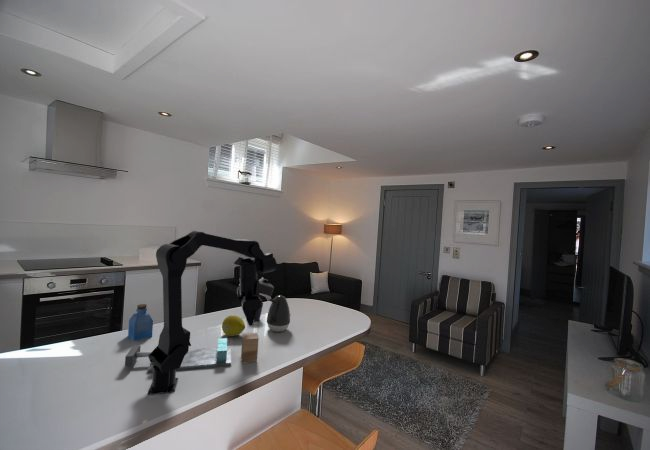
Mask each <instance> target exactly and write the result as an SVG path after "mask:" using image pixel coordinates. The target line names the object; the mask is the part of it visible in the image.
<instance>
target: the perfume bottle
mask: <svg viewBox="0 0 650 450" xmlns="http://www.w3.org/2000/svg"><path fill="white" fill-rule="evenodd" d="M147 306H148V305H147V304H145V303H140V304H138V305H137V306H136V307H137V308H136V310H135V311H136V313H135V312H134V313H133V314H132V315H131V317H129V320H128V329H127V337H128V338H130V339H131V340H132V341H133V342H135V341H140V340H144V339H145V340H146V339H149V338H152V337H153V329H154V327H153V326H154V320H153V318H152V317H151V314H149V313H148V312H147V311H148V307H147Z"/></svg>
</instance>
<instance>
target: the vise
mask: <svg viewBox="0 0 650 450" xmlns="http://www.w3.org/2000/svg"><path fill="white" fill-rule="evenodd" d="M231 347H232V346H228V338H227V337H225V338H217V347H211V348H210V347H209V348H208V347H207V348H195V349H193V348H192V349H189V350H188V353H187V354H186V355H185V356H184V359H183V361H182V364H181V366H180V368H178V369H176V371H180V370H181V371H183V370H184V371H185V370H194V369H206V368H209V369H210V368H217V367H219V368H221V366H222V367H231V366H232V351H231V350H232V349H231ZM153 366H154V364H153V363H151V362H150V364H149V366H148V367H147V373H148V374H149V373H153Z"/></svg>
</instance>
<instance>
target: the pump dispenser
mask: <svg viewBox="0 0 650 450" xmlns="http://www.w3.org/2000/svg"><path fill="white" fill-rule="evenodd" d="M269 302H271V303H270V306H269V308H268V312H267V317H266V324H267V327H268V328H269V330H270V331H272V332H274V333H280V332H284V331H286V330H287V329H288V327H289V325H290V324H291V313H290V306H289V304H288V303H289V302H288V300H287V298H286V297H285V296H283V295H282V294H280V295H276V296H275V297H274V298H270V299H269Z"/></svg>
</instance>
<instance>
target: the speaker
mask: <svg viewBox="0 0 650 450" xmlns="http://www.w3.org/2000/svg"><path fill="white" fill-rule="evenodd" d="M263 306H264V302H262V308H261V309H259V310H257V311H256V314H255V318H254V322H256V321H257V322H258V321H260V319H261V315H262V311H263ZM245 319H246V318H245ZM246 321H247V319H246Z"/></svg>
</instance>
